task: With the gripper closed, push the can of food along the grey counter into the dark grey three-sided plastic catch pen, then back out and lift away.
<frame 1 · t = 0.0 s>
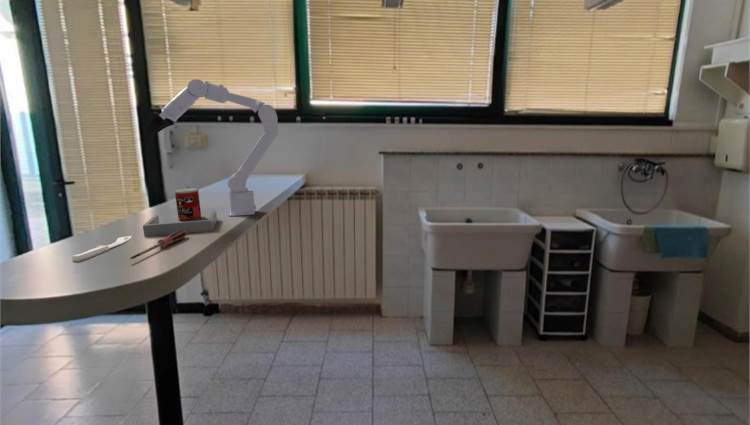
hand: (150, 131, 145), 32 cm above the table, tool tilted 50°, fingers open, 7 cm apart
catch pen: (183, 227, 140), on the table
canned food: (190, 219, 153), on the table
white elongated piece: (109, 246, 122), on the table
screwdriver: (160, 250, 116), on the table
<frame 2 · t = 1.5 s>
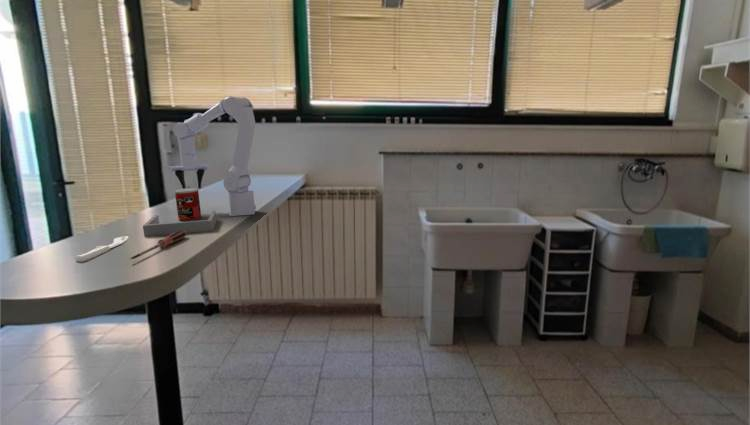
hand: (192, 188, 162), 9 cm above the table, tool pointing down, fingers open, 5 cm apart
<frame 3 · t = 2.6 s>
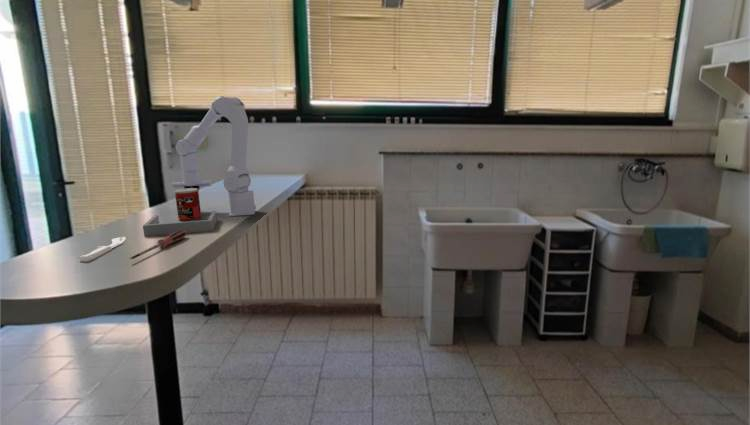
hand: (193, 204, 163), 3 cm above the table, tool pointing down, fingers closed
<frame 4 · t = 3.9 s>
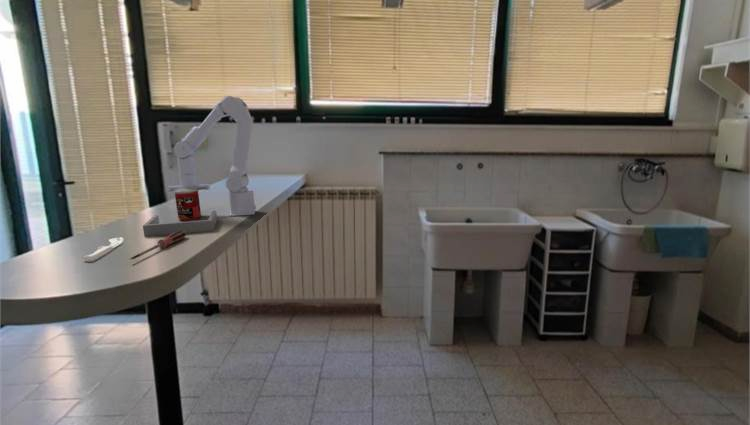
hand: (191, 208, 158), 2 cm above the table, tool pointing down, fingers closed, pressing on canned food
canned food: (190, 218, 153), on the table, touching gripper
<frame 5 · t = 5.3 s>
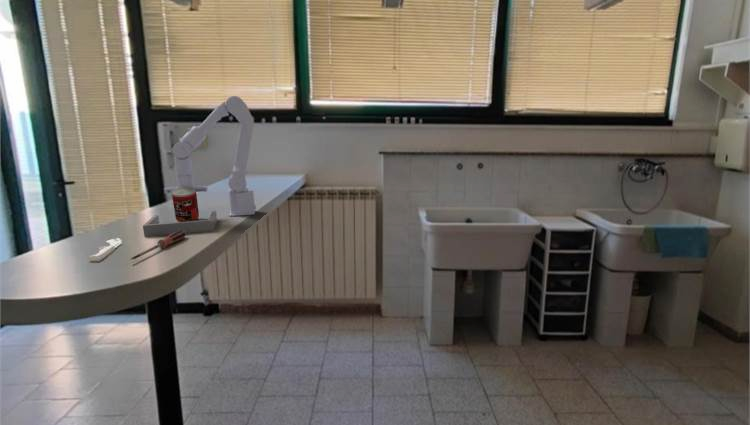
hand: (188, 211, 153), 3 cm above the table, tool pointing down, fingers closed, pressing on canned food
canned food: (187, 218, 149), point 1 cm above the table, touching gripper
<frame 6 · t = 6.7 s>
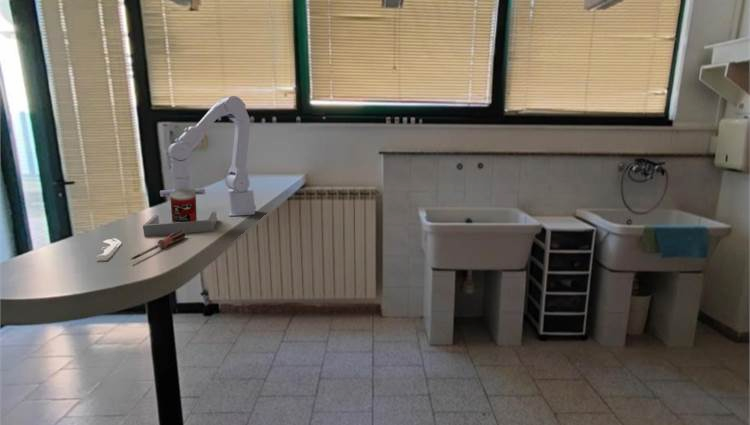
hand: (185, 215, 147), 3 cm above the table, tool pointing down, fingers closed, pressing on canned food
canned food: (184, 222, 143), point 1 cm above the table, touching gripper
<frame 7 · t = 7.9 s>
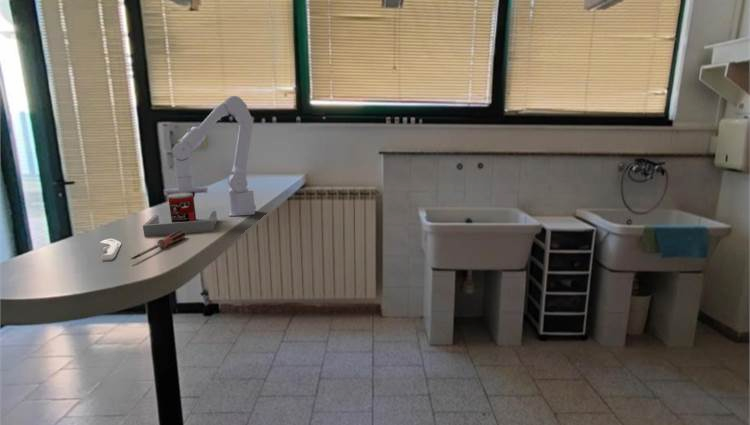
hand: (188, 212, 151), 2 cm above the table, tool pointing down, fingers closed
canned food: (184, 225, 143), on the table
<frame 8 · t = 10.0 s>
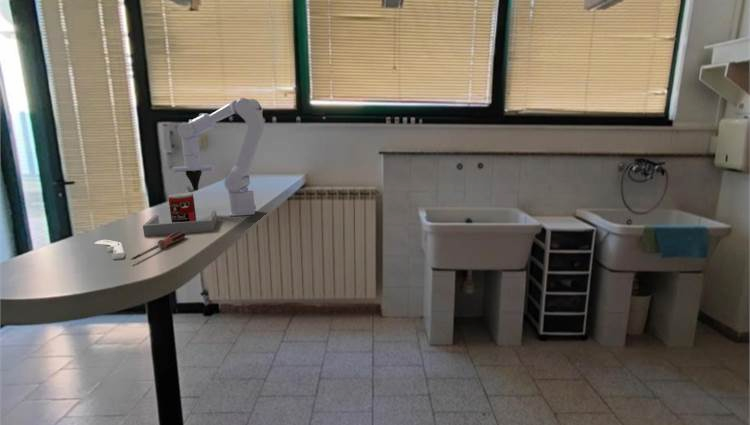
hand: (196, 190, 159), 9 cm above the table, tool pointing down, fingers closed
at the end: canned food inside the target area on the catch pen (4.7 cm from its centre), point 0.0 cm above the catch pen's base; canned food tilted 0°; canned food moved 10.3 cm from its start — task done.
